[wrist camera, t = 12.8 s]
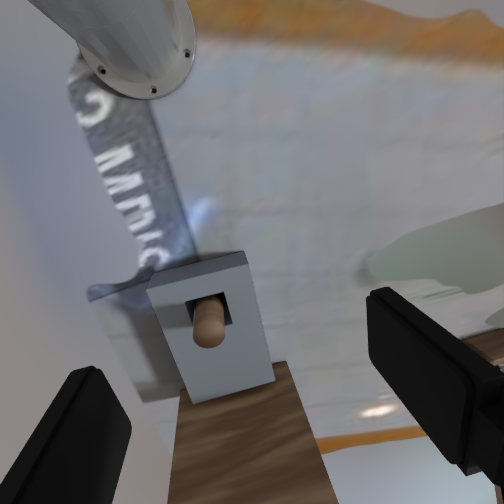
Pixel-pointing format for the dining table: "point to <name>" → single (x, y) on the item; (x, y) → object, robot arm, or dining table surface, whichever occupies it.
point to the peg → (209, 321)
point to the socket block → (235, 320)
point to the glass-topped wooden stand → (248, 449)
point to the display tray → (488, 346)
